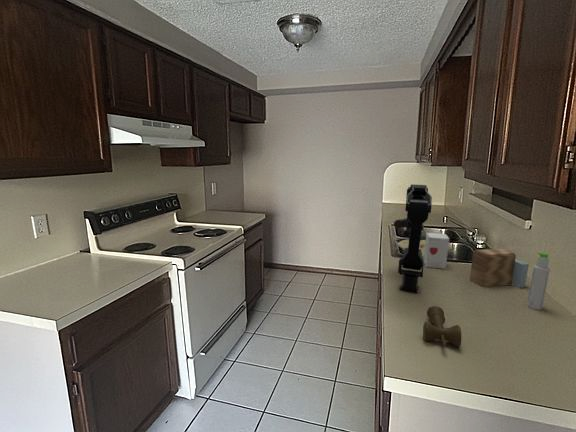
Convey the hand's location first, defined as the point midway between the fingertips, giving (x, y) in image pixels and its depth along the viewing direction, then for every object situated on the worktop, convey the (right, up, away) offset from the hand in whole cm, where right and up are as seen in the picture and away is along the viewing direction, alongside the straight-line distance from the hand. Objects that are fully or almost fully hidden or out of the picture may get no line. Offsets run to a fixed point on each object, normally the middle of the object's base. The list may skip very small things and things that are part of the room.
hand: (412, 248), depth 140 cm
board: (+40, -13, -3) cm, 42 cm away
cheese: (+10, -7, +25) cm, 28 cm away
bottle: (+34, -18, -26) cm, 46 cm away
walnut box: (+31, -14, -5) cm, 34 cm away
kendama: (-9, -22, -44) cm, 50 cm away
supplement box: (+16, -10, +15) cm, 24 cm away
